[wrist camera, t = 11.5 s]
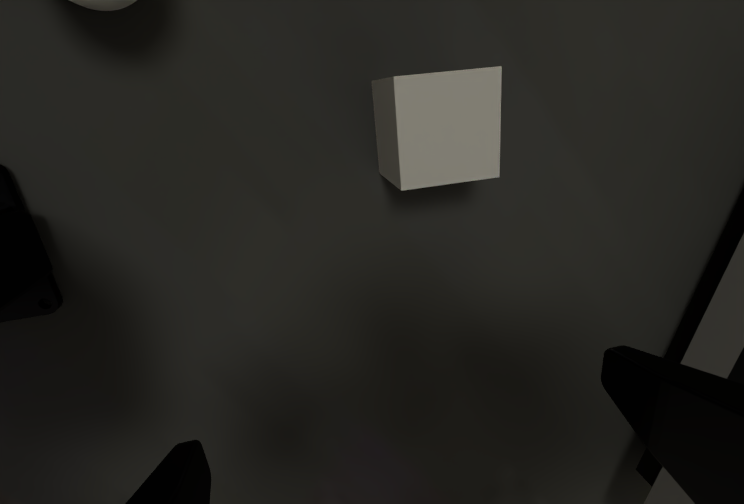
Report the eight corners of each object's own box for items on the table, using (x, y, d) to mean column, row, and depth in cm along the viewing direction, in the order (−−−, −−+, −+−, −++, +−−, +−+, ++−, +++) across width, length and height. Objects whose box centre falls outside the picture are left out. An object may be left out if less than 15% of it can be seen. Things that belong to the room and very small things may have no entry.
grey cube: (379, 173, 19) (401, 190, 16) (371, 81, 18) (393, 76, 14) (459, 162, 20) (499, 177, 16) (458, 72, 18) (501, 66, 15)
